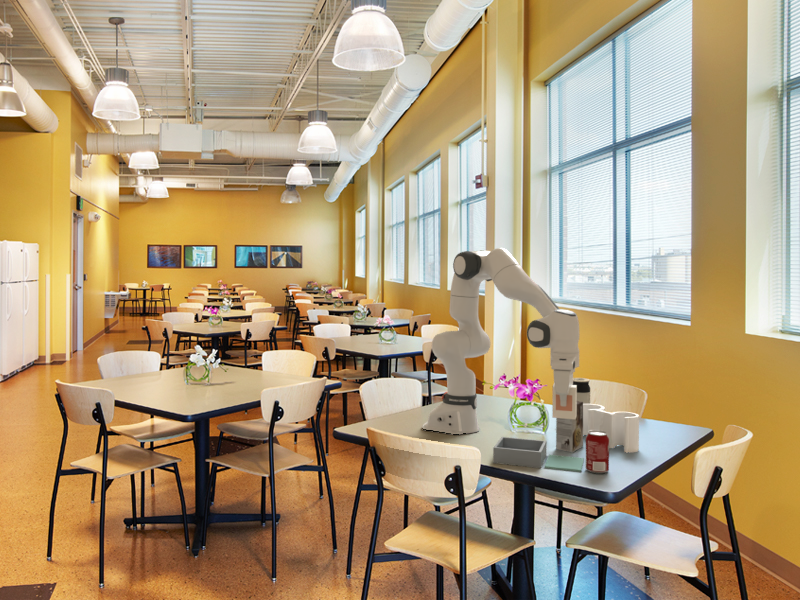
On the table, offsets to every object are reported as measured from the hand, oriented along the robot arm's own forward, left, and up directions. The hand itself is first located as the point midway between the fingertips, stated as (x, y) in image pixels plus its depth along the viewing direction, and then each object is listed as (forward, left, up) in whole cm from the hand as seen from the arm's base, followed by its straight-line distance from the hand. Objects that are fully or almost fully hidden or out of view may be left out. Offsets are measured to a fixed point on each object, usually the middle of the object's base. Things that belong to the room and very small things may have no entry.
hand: (564, 404), depth 188 cm
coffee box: (0, +19, -19) cm, 27 cm away
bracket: (+12, +30, -20) cm, 38 cm away
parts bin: (-14, 0, -19) cm, 24 cm away
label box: (0, 0, -4) cm, 4 cm away
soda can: (+10, -4, -19) cm, 22 cm away
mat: (0, 0, -19) cm, 19 cm away
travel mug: (+1, +58, -19) cm, 61 cm away
